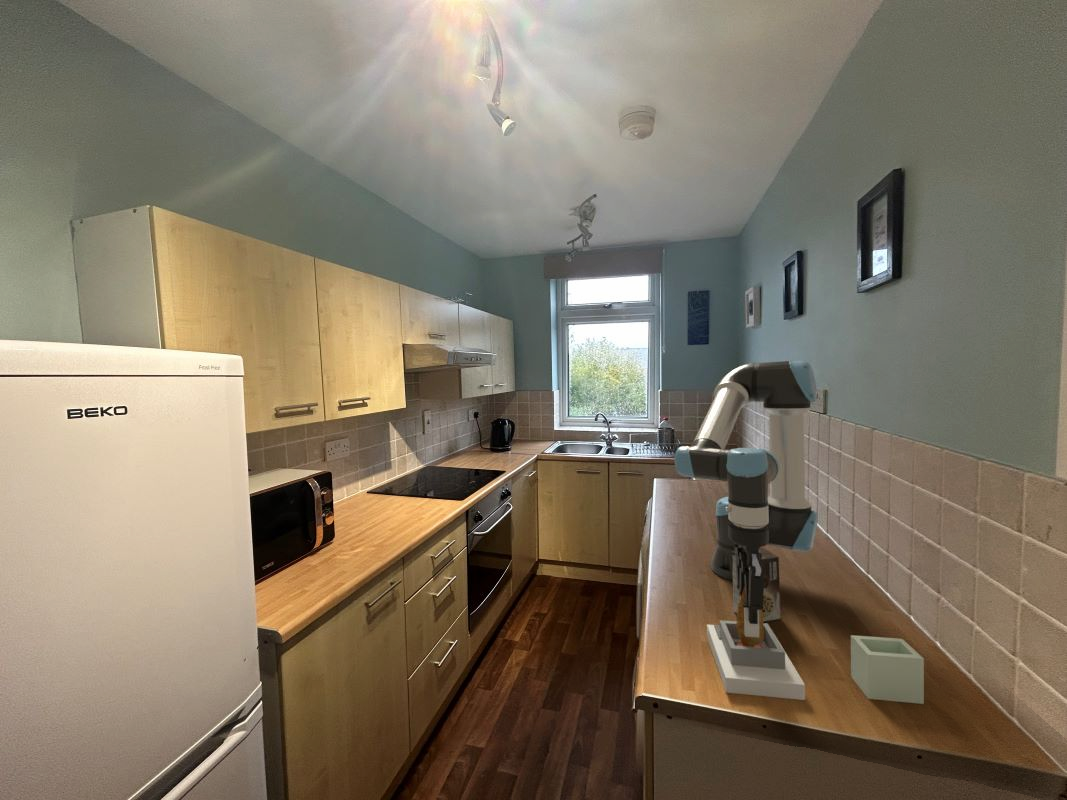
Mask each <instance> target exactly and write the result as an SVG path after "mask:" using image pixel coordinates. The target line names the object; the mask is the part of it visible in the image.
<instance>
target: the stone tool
mask: <svg viewBox="0 0 1067 800" xmlns="http://www.w3.org/2000/svg"><path fill="white" fill-rule="evenodd" d="M742 603H746V601H745V587H744V590H743V593H742V596H741V599H740V602H739V603H738V611H737V614H736V621H737V623H736V625H737V632H738V636H739V638H740V639H741V642H742V645H743V646H747V647H755V645H757V644H759V643H762V641H763V639H764V629H763V624H764V622H765V621H764V620H763V614H762V610H759V637H760V638H759V637H745V635H744V608H743V607H742ZM763 621H764V622H763Z"/></svg>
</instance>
